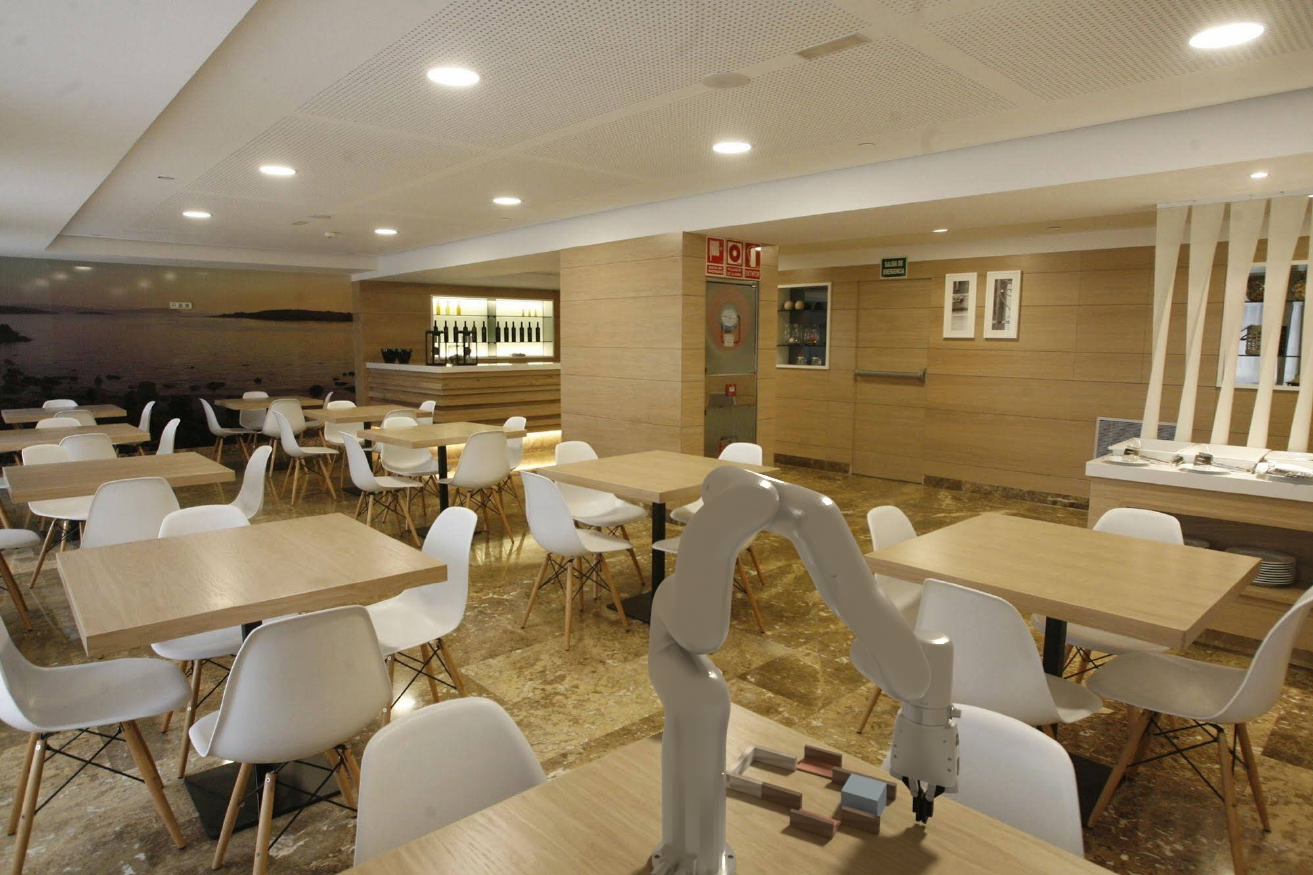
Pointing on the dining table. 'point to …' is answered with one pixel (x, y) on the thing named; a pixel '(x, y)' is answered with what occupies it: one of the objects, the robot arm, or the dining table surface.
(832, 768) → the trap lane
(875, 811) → the slate block
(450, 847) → the dining table surface
